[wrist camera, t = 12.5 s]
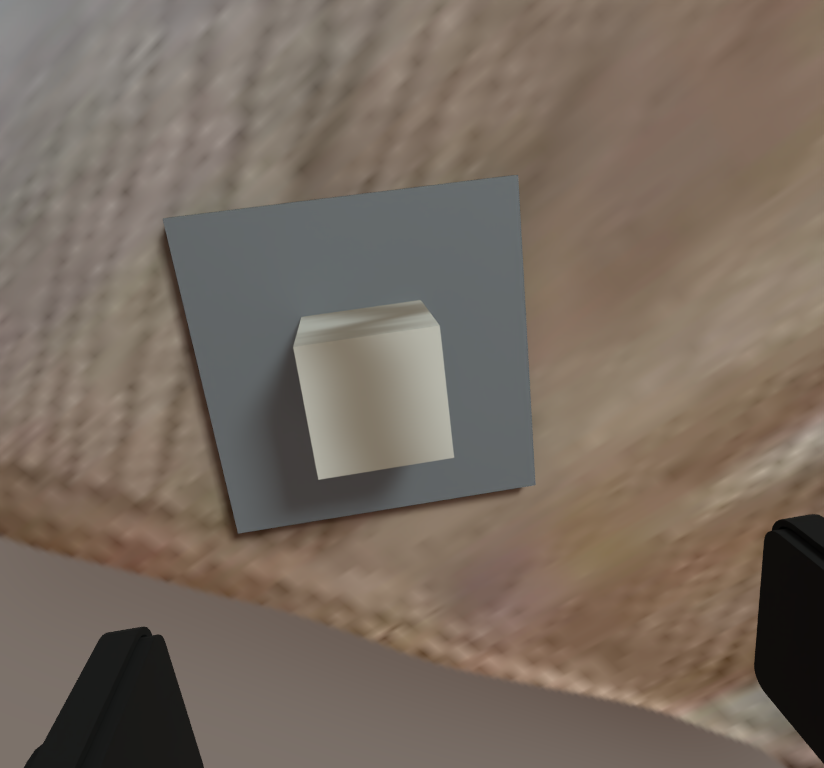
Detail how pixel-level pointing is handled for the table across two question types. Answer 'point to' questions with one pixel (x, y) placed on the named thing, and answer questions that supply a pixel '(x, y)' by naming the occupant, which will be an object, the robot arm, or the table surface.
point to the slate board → (347, 290)
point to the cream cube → (374, 388)
